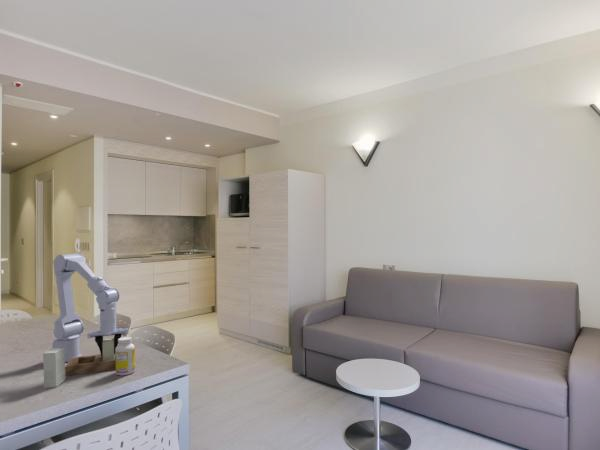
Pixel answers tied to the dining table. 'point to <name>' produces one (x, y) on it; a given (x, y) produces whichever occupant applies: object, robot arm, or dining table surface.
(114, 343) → the robot arm
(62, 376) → the skincare box
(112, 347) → the sage peg
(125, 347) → the supplement bottle
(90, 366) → the walnut rail
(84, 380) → the dining table surface
